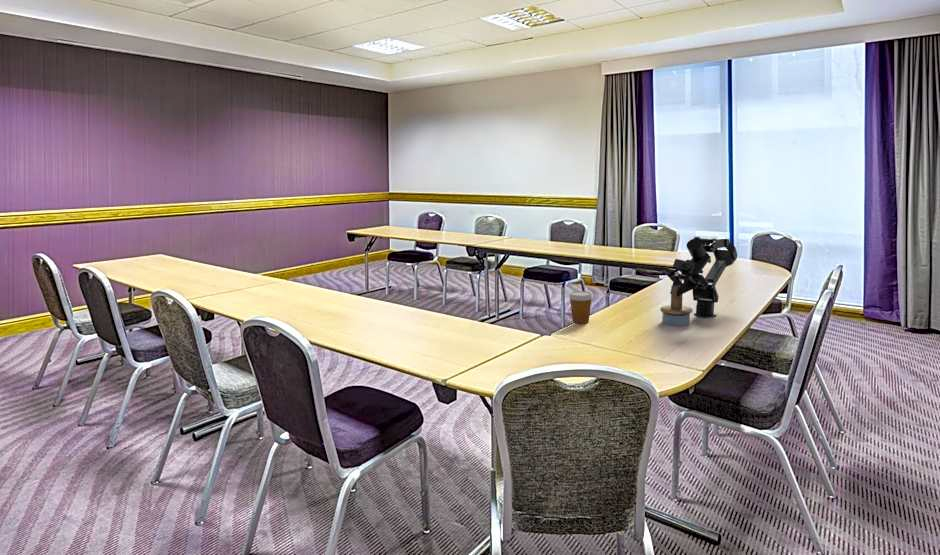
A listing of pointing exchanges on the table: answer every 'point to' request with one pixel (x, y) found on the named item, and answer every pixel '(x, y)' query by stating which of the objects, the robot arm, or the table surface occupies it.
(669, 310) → the walnut lid
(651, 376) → the table surface
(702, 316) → the robot arm
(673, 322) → the slate bowl
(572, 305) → the disposable coffee cup
